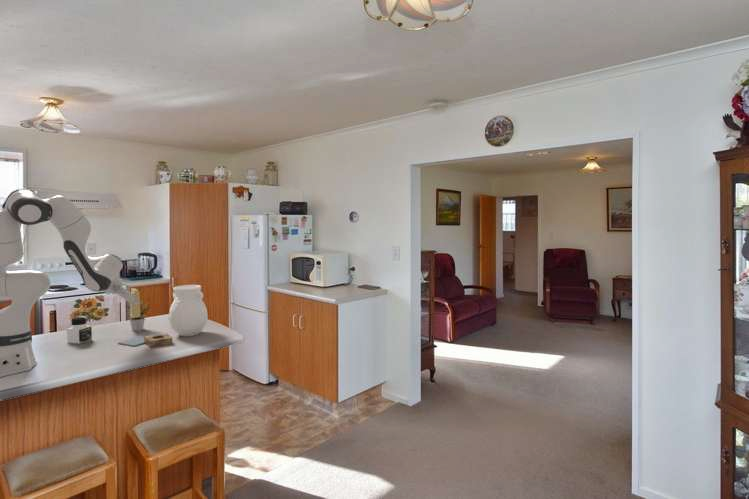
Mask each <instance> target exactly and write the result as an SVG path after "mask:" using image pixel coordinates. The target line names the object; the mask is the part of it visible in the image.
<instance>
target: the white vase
mask: <svg viewBox="0 0 749 499" xmlns="http://www.w3.org/2000/svg"><path fill="white" fill-rule="evenodd" d="M172 289H173V292H172V297H173V301H172V303H171V305H170V308H169V312H168V321H169V325H170V327H171V329H172V330H173V331H174V332H175V333H177V335H179V336H180V337H193V336H197V335H199V334H200V333H201V331H203V330H204V328H205V326H206V325H207V322H208V320H209V319H208V318H209V315H208V308H207V306H206V304H205V302H204V300H203V298H204V293H203V292H202V285H200V284H184V285H177V286H174V287H173V288H172Z"/></svg>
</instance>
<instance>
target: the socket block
mask: <svg viewBox="0 0 749 499" xmlns="http://www.w3.org/2000/svg"><path fill="white" fill-rule="evenodd" d="M143 338H144V341H145V344H144V345H146V346H148V348H155V347H156V348H157V347H162V346H167V345H172V344H173V337H172V336H171V335H170V334H168V333H167V332H165V333H159V334H152V335H146V336H143Z"/></svg>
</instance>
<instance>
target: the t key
mask: <svg viewBox="0 0 749 499" xmlns="http://www.w3.org/2000/svg"><path fill="white" fill-rule="evenodd" d="M129 292H130V293H131V294H133V295H134V296H135V299H136V300H137V301H138V302H139V303H138V304H137V305H135V304H134V303H132V302H129V303H130V304H129V306H130V307H129V308H130V309H129V310H130V313H129V317H130V319H131V318H137V317H141V316H140V311H141V309H140V302H141V298H140V297H141V296H140V295H141V294H140V291H139V290H138V289H137V288H135V287H131V288H130V291H129Z"/></svg>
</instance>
